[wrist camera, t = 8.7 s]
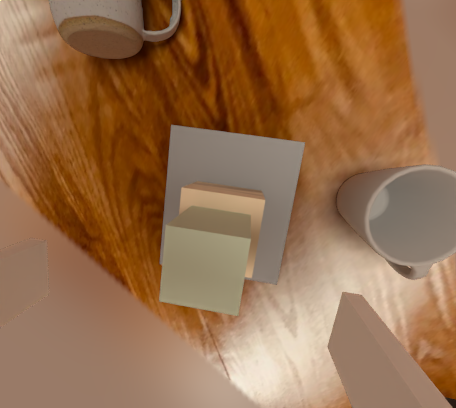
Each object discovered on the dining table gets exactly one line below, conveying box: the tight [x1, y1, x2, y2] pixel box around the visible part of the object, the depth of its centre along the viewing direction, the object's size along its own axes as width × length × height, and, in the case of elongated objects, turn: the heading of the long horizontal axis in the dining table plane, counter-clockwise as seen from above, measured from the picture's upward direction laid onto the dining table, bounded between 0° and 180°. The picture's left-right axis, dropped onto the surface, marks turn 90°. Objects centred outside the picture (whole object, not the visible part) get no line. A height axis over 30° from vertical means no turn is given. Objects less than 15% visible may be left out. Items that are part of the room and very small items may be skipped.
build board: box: [160, 125, 305, 285], centre depth 26 cm, size 16×14×1 cm
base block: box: [179, 181, 265, 278], centre depth 22 cm, size 7×7×6 cm
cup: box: [336, 165, 456, 280], centre depth 21 cm, size 8×10×8 cm
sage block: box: [159, 206, 251, 316], centre depth 16 cm, size 5×5×6 cm
